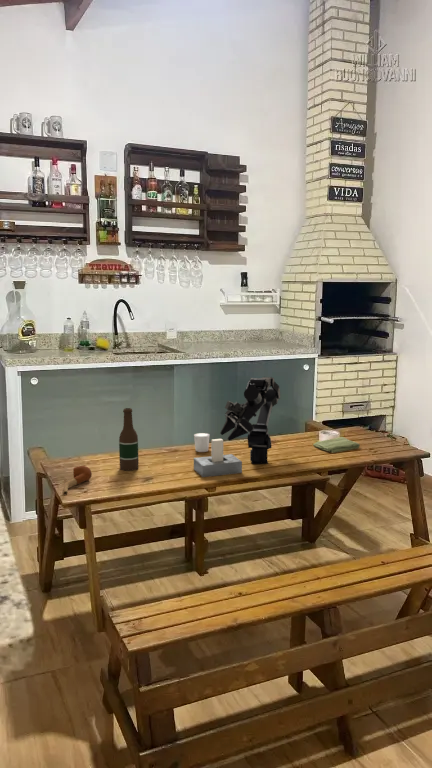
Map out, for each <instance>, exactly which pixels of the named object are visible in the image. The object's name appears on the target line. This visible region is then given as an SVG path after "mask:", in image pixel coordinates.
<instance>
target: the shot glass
mask: <svg viewBox="0 0 432 768" xmlns="http://www.w3.org/2000/svg"><path fill="white" fill-rule="evenodd" d="M210 436H211V435H210V433H207V432H198V433H193V437H194V448H195V451H196V452H199V453H205V452H208V451H209V448H210V446H209V445H210Z"/></svg>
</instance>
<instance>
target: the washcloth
mask: <svg viewBox="0 0 432 768" xmlns="http://www.w3.org/2000/svg"><path fill="white" fill-rule="evenodd" d="M360 445H361V444H360V443H358V442H356V441H353V440H349V439H348V438H346V437H344V436H339V437H336V438H329V439H325V440H320V441H316V442H315V443H313V446H314V448H317V449H320V450H322V451H327V452H328V453H331V454H335V453H339V452H346V451H351V450H356V449H359V448H360Z"/></svg>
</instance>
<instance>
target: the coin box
mask: <svg viewBox="0 0 432 768" xmlns="http://www.w3.org/2000/svg"><path fill="white" fill-rule="evenodd" d="M193 470H194V471H195V472H196V473H197V474H198V475H200V477H201V478H205V477H207V478H208V477H217V476H225V475H235V474H242V473H243V461H242V460H241V459H239V458H238V457H237V456H235V455H234V454H232V453H230V454H223V461H218V462H212V455H211V456H210V455H209V456H201V457H193Z"/></svg>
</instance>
